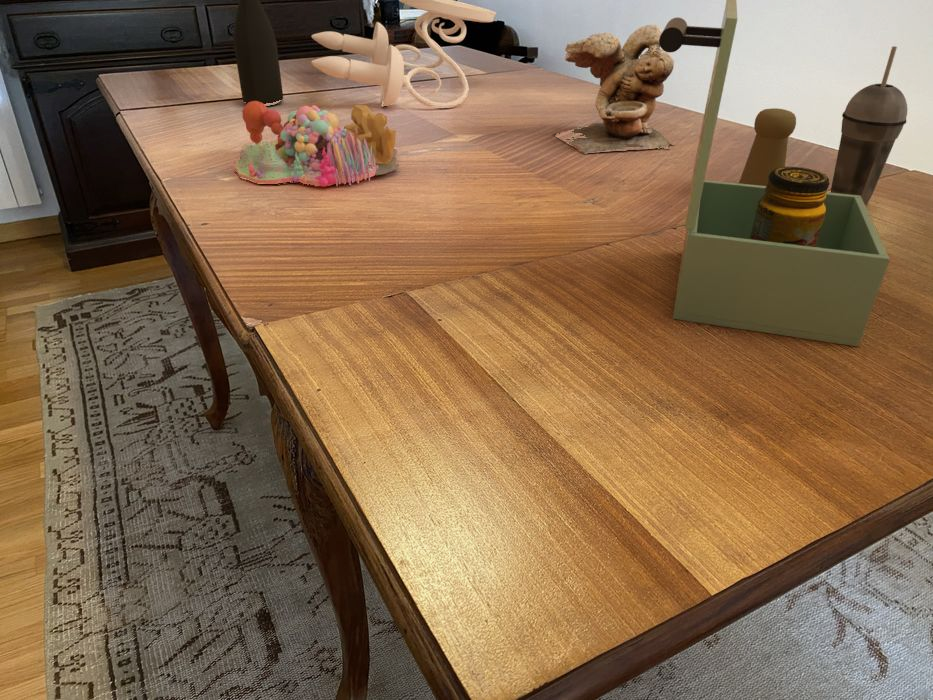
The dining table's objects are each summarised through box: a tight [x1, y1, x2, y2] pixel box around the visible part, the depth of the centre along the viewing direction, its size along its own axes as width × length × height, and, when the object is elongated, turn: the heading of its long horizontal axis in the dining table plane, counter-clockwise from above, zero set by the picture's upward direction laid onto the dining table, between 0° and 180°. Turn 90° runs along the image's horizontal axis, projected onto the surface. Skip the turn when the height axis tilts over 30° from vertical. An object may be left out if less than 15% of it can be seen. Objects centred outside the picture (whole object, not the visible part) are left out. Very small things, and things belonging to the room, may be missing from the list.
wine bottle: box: [233, 0, 284, 104], centre depth 134 cm, size 8×8×30 cm
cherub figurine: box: [564, 24, 675, 154], centre depth 117 cm, size 18×18×18 cm
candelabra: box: [310, 0, 497, 107], centre depth 150 cm, size 20×45×37 cm
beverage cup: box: [829, 45, 908, 207], centre depth 89 cm, size 7×7×20 cm
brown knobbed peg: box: [738, 107, 797, 186], centre depth 97 cm, size 6×6×11 cm
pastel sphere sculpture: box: [233, 101, 400, 188], centre depth 106 cm, size 25×24×9 cm
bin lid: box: [659, 0, 738, 230], centre depth 66 cm, size 17×16×6 cm
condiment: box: [750, 166, 831, 247], centre depth 69 cm, size 7×8×12 cm
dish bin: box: [672, 179, 890, 348], centre depth 70 cm, size 16×16×9 cm
